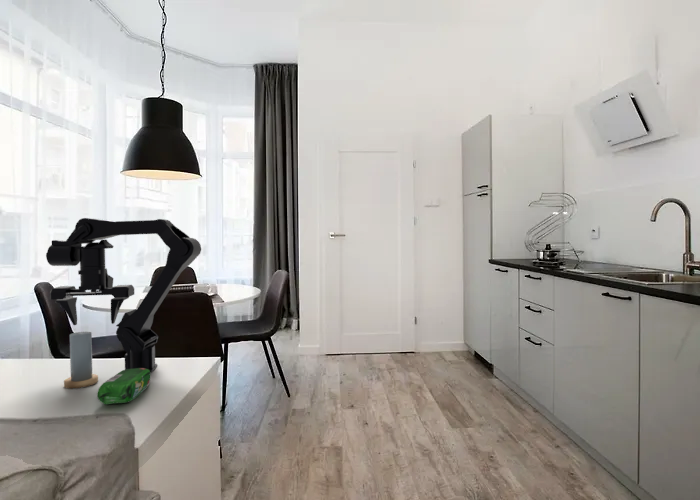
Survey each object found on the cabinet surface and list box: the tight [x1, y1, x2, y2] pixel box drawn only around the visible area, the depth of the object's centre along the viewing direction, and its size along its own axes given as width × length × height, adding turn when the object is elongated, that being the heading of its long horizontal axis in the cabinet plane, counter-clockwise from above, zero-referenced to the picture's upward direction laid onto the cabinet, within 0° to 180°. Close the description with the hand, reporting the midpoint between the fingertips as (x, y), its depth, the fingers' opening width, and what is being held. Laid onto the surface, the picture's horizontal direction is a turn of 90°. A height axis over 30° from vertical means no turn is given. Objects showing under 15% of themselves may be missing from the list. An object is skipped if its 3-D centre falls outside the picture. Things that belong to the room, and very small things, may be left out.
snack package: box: [96, 368, 152, 405], centre depth 95 cm, size 7×16×5 cm, turn 4°
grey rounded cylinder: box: [69, 331, 93, 382], centre depth 104 cm, size 4×4×11 cm
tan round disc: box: [63, 373, 99, 390], centre depth 104 cm, size 7×7×1 cm
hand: (94, 324), depth 113 cm, fingers open, 9 cm apart
